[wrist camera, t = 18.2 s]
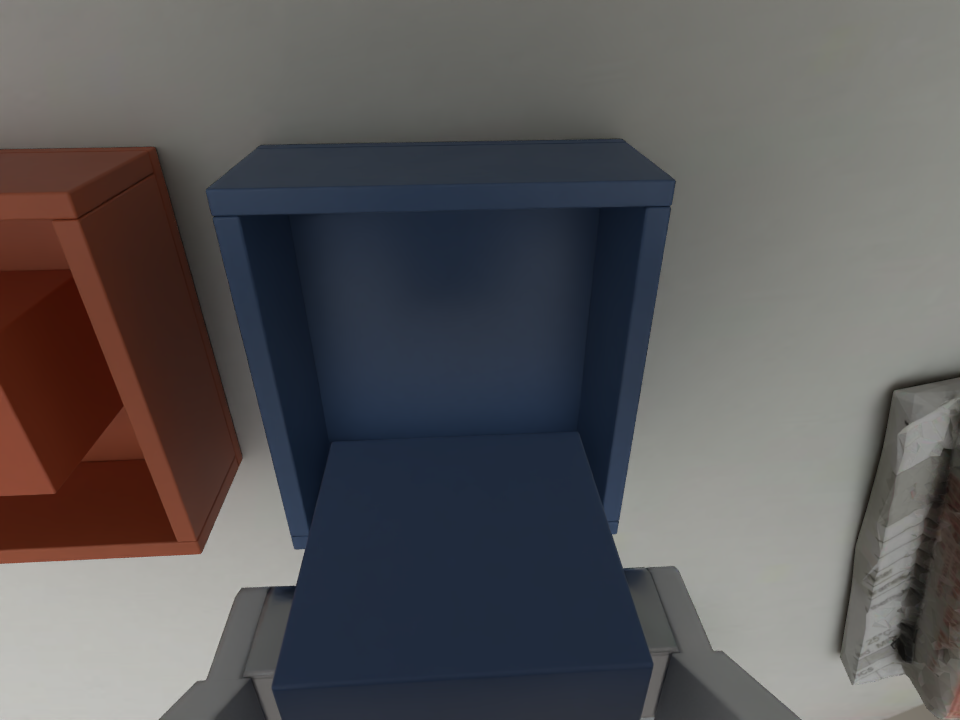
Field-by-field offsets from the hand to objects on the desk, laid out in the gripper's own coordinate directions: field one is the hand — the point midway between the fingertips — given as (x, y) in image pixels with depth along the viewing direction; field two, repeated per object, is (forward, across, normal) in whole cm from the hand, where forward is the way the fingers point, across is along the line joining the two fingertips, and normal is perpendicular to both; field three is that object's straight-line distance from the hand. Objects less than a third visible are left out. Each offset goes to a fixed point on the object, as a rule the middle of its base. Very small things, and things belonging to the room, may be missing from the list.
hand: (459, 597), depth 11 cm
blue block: (+2, 0, 0) cm, 2 cm away
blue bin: (+11, 0, 0) cm, 11 cm away
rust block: (+10, +13, 0) cm, 16 cm away
